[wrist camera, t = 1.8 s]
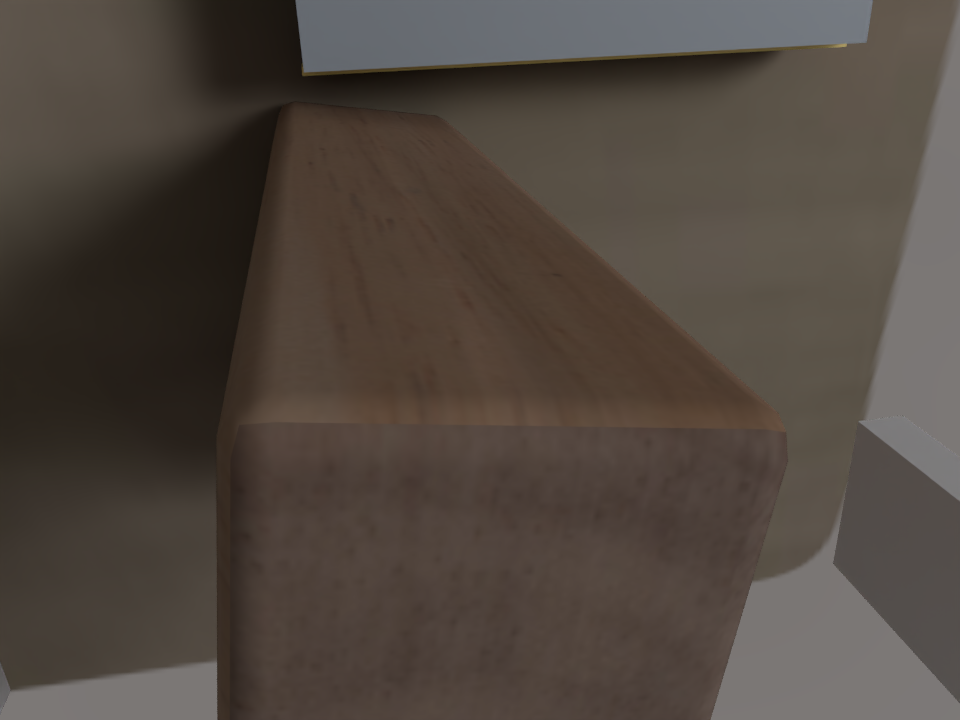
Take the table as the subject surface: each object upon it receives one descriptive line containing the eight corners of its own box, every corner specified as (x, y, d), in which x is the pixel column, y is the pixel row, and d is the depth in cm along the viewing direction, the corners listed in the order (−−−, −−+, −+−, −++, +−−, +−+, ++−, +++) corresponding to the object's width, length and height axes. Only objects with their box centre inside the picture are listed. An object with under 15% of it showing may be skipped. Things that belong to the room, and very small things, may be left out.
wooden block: (418, 409, 26) (612, 1097, 10) (271, 407, 25) (215, 1168, 9) (448, 115, 22) (823, 423, 6) (278, 98, 21) (210, 414, 5)
